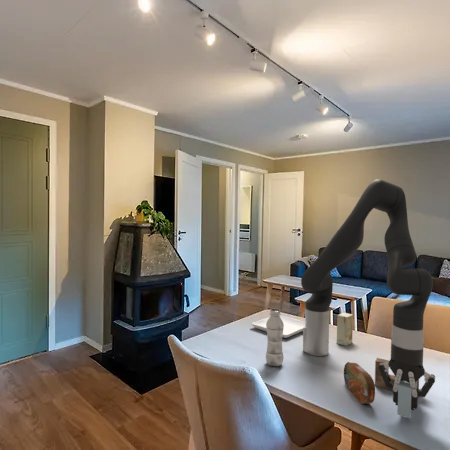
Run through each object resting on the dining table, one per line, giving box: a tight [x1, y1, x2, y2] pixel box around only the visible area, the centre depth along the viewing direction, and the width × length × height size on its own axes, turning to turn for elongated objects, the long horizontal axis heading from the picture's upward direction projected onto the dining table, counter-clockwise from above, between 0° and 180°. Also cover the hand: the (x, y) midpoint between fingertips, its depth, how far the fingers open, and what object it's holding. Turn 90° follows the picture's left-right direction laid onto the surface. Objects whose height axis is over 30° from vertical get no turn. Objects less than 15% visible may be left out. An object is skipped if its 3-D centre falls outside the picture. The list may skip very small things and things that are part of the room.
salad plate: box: [251, 314, 305, 339], centre depth 158 cm, size 21×21×3 cm
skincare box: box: [336, 312, 354, 346], centre depth 141 cm, size 6×4×12 cm
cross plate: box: [396, 381, 413, 419], centre depth 92 cm, size 14×3×8 cm, turn 146°
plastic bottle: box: [265, 308, 284, 367], centre depth 120 cm, size 6×7×20 cm
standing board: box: [374, 357, 420, 391], centre depth 104 cm, size 12×3×8 cm, turn 57°
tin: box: [343, 361, 376, 405], centre depth 100 cm, size 15×3×8 cm, turn 5°
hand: (404, 406), depth 89 cm, fingers closed on cross plate, 3 cm apart
